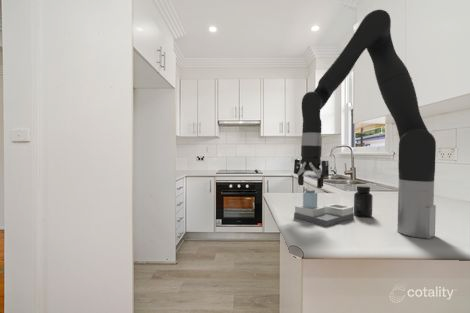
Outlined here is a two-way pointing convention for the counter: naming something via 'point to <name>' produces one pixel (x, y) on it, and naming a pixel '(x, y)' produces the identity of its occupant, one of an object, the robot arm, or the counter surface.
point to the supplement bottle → (363, 202)
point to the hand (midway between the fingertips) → (309, 186)
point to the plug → (310, 199)
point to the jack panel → (324, 214)
